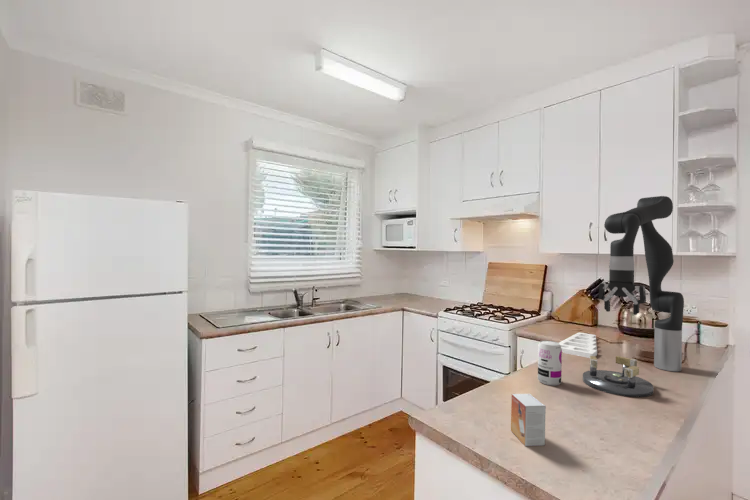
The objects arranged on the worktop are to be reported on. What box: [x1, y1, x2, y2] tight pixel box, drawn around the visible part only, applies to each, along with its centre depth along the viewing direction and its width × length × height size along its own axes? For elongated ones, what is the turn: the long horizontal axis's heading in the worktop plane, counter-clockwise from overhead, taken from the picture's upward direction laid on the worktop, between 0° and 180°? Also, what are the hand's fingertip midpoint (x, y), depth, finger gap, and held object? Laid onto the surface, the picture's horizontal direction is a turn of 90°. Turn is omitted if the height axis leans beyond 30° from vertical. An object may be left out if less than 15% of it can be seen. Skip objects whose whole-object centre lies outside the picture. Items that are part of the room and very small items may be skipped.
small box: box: [510, 393, 547, 447], centre depth 97 cm, size 8×6×10 cm
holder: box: [558, 331, 598, 359], centre depth 191 cm, size 45×18×3 cm, turn 135°
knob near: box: [615, 355, 638, 375], centre depth 140 cm, size 6×2×7 cm, turn 32°
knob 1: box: [589, 356, 598, 376], centre depth 139 cm, size 6×2×7 cm, turn 152°
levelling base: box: [582, 369, 654, 398], centre depth 136 cm, size 22×22×4 cm
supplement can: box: [537, 340, 563, 387], centre depth 138 cm, size 8×8×15 cm
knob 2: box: [624, 366, 640, 388], centre depth 128 cm, size 6×2×7 cm, turn 122°
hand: (621, 312), depth 132 cm, fingers open, 8 cm apart
